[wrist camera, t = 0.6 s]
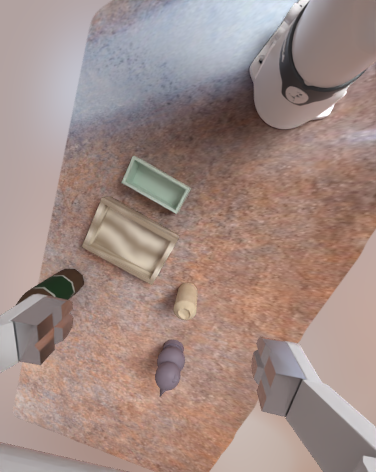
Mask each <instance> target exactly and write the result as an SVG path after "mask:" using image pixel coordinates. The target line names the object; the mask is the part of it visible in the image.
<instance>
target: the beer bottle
mask: <svg viewBox="0 0 376 472" xmlns="http://www.w3.org/2000/svg"><path fill="white" fill-rule="evenodd" d="M83 285H84V281H83V276H82V274H80V273H79V272H78V271H76V270H75V269H64V270H62V271H60V272H58V273H57V274H55V275H53V276H52V277H50V278H48V279H47V280H45V281H43V282H42V283H40V284H38V285H37V286H35V287H33V288H32V289H30V290H29V291H27V292H26V293H25V294H24V295H23V296H22V297H21V299H20V300H19V301H18V303H17V304H19V303H21V302H22V301H24V300H25V299H27V298H28V297H30V296H32V295H33V294H42V295H46V296H52V297H57V298H61V299H66V300H69V299H70V298H71V297H72V296H73V295H75V294H76V293H77V292H78V291H79V290H80V288H81V287H82V286H83ZM17 304H16V305H17Z"/></svg>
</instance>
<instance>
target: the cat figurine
mask: <svg viewBox="0 0 376 472" xmlns="http://www.w3.org/2000/svg"><path fill="white" fill-rule="evenodd" d="M183 351H184V348H183V345H182V344H181V343H180V342H179V341H177V340H168V341H167V342H166V343H165V344H164V347H163V350H162V351H161V353H160V354H159V356H158V359H157V364H158V368H157V371H156V374H155V380H156V383H157V385H158V387H159V388H160V396H161V395H162V394H163V393H164V392H165V391H168V390H172V389H173V388H175V387H176V386H177V384H178V383H179V380H180V371H181V370H182V369H183V367H184V364H185V357H184V354H183Z"/></svg>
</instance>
